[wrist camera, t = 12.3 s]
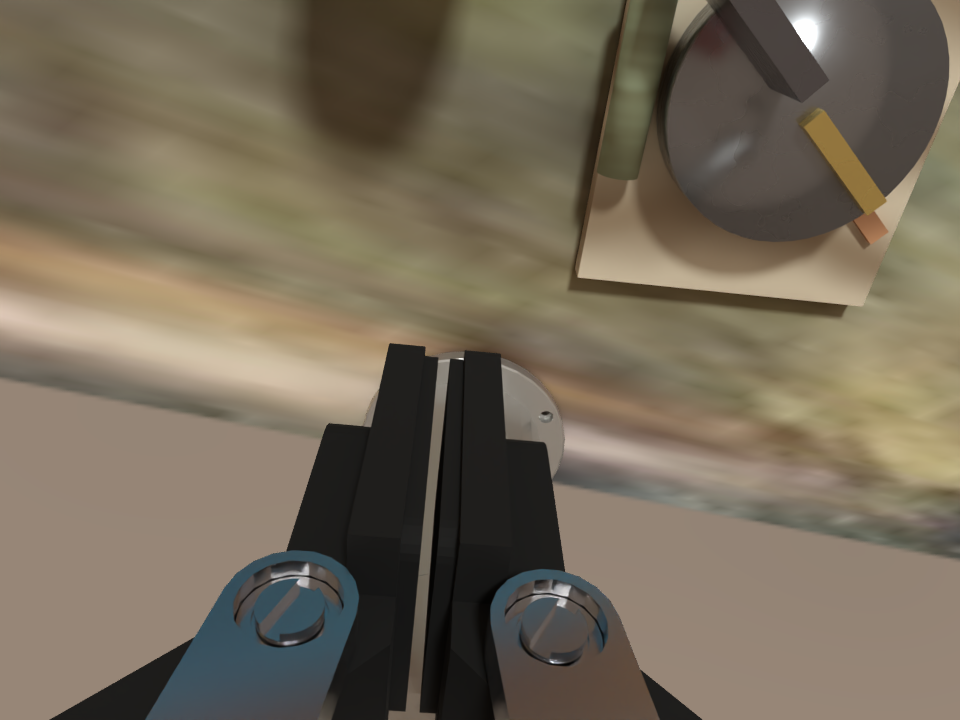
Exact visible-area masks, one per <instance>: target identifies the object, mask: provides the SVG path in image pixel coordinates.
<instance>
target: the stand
mask: <svg viewBox="0 0 960 720" xmlns="http://www.w3.org/2000/svg"><path fill="white" fill-rule="evenodd" d="M931 1H932V3H933V4H934V6H935V8H936V10H937V12H938V14H939V16H940V18H941V20H942V23H943V27H944V30H945V34H946V37H947V42H948V50H949V81H948V88H947V95H946V99H945V103H944V106H943V110H942V114H941V116H940V119H939V121H938V124H937V127H936V129H935V132H934V134H933V136H932V138H931V139H930V141H929V143H928V145H927V147H926V149H925V151H924V152H923V154H922V155H921V157H920V158H919V160H918V161H917V163H916V164H915V166H914V167H913V168H912V169H911V171H910V172H909V173H908V174H907V176H906V177H905V178H904V179H903V180H902V182H901V183H900V184H899V185H898V186H897V187H896V188H895V189H894V190H893V191H892V192H891V193H890V194H889V195H888V196H887V197H885V199H886V200H887V202H886V203H884V204H883V205H882V206H880V207H879V208H878V209H876V210H875V211H874V212H872V213H871V214H870V215H868V216H867V215H865V214H863V215H861V216H860V217H858V218H857V219H855V220H853V221H851V222H849V223H847V224H845V225H844V226H842V227H839V228H837V229H835V230H832V231H830V232H827V233H825V234H821V235H818V236H814V237H811V238H807V239H801V240H795V241H785V242H768V241H758V240H753V239H748V238H744V237H741V236H738V235H735V234H732V233H730V232H728V231H726V230H724V229H722V228H720V227H718V226H717V225H715V224H714V223H712V222H711V221H710V220H708V219H707V218H706V217H704V216H703V215H702V214H701V213H700V212H699V211H698V209H697V208H696V207H695V206H694V205H693V204H692V203H691V202H690V201H689V200H688V198H687V197H686V196H685V195H684V194H683V193H682V191H681V190H680V189H679V188H678V186H677V185H676V183H675V182H674V181H673V179H672V177H671V175H670V173H669V172H668V170H667V168H666V166H665V163H664V160H663V157H662V154H661V151H660V146H659V141H658V136H657V120H656V117H657V103H658V97H659V92H660V86H661V82H662V79H663V76H664V73H665V70H666V67H667V64H668V62H669V60H670V57H671V55H672V53H673V51H674V49H675V47H676V45H677V43H678V42H679V40H680V38H681V37H682V35H683V33H684V32H685V30H686V29H687V27H688V26H689V25H690V23H691V22H692V21H693V19H694V18H695V17H696V16H697V14H698V13H699V12H700V11H701V10H702V9H703V8H704V7H705V6H706V5H707V4H708V2H707V1H706V0H627V2H626V7H625V12H624V18H623V23H622V28H621V33H620V38H619V43H618V49H617V54H616V59H615V64H614V69H613V74H612V80H611V85H610V90H609V95H608V100H607V105H606V111H605V116H604V121H603V126H602V131H601V136H600V142H599V147H598V152H597V157H596V162H595V167H594V173H593V178H592V183H591V188H590V193H589V198H588V204H587V209H586V214H585V219H584V224H583V229H582V235H581V240H580V245H579V250H578V255H577V260H576V266H575V271H576V274H577V277H578V278H588V279H598V280H608V281H617V282H627V283H637V284H647V285H657V286H667V287H677V288H686V289H696V290H706V291H716V292H726V293H736V294H745V295H755V296H765V297H775V298H785V299H795V300H805V301H814V302H824V303H834V304H844V305H854V306H863V304H864V302H865V299H866V297H867V295H868V292H869V290H870V288H871V285H872V283H873V281H874V278H875V276H876V274H877V271H878V269H879V267H880V264H881V262H882V260H883V257H884V255H885V253H886V250H887V248H888V246H889V244H890V241H891V239H892V237H893V234H894V232H895V230H896V227H897V225H898V223H899V220H900V218H901V216H902V213H903V211H904V209H905V206H906V204H907V202H908V199H909V197H910V195H911V192H912V190H913V188H914V185H915V183H916V181H917V178H918V176H919V174H920V171H921V169H922V167H923V164H924V162H925V160H926V157H927V155H928V153H929V150H930V148H931V146H932V144H933V141H934V139H935V137H936V134H937V132H938V130H939V127H940V125H941V123H942V120H943V118H944V116H945V113H946V111H947V109H948V106H949V104H950V102H951V99H952V97H953V95H954V92H955V90H956V88H957V85H958V83H959V81H960V0H931Z"/></svg>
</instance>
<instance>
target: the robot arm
mask: <svg viewBox="0 0 960 720" xmlns="http://www.w3.org/2000/svg"><path fill="white" fill-rule="evenodd" d="M564 441H565V437H564V430H563V423H562V419H561V415H560V411H559V408H558V406H557V404H556V402H555V400H554V398H553V397H552V395H551V393H550V392H549V391H548V390H547V388H546V387H545V386H544V385H543V384H542V382H541V381H540V380H539V379H537V378H536V377H535V376H534V375H532V374H531V373H530V372H528V371H527V370H526V369H524V368H522V367H520V366H519V365H517V364H515V363H513V362H511V361H509V360H506V359H503V358H501V354H498V353H487V352H477V351H466V350H465V352H447V353H442V354H437V355H432V356H425V347H424V346H413V345H403V344H392V343H390V344H389V348H388V352H387V357H386V361H385V366H384V370H383V375H382V379H381V384H380V388H379V390H378V391H377V393H376V394H375V396H374V397H373V398H372V401H371V403H370V405H369V408H368V410H367V413H366V417H365V421H364V426H353V425H342V424H330V423H329V424H328V425H327V426H326V429H325V431H324V434H323V437H322V440H321V444H320V447H319V450H318V453H317V456H316V459H315V463H314V466H313V469H312V472H311V475H310V478H309V482H308V485H307V488H306V491H305V494H304V497H303V500H302V503H301V507H300V510H299V513H298V516H297V519H296V522H295V525H294V529H293V532H292V535H291V538H290V541H289V544H288V548H287V551H286V552H279V553H273V554H270V555H268V556H265V557H263V558H260V559H258V560H255V561H253V562H252V563H250V564H249V565H247V566H246V567H245V568H243V569H242V570H240V571H239V572H237V573H236V574H235V576H234V577H233V578H232V579H231V581H230V582H229V583H228V584H227V585H226V586H225V588H224V589H223V591H222V593H221V594H220V596H219V597H218V599H217V601H216V603H215V604H214V606H213V608H212V609H211V611H210V613H209V614H208V616H207V618H206V619H205V621H204V623H203V624H202V626H201V628H200V629H199V631H198V633H197V634H196V636H195V637H194V638H192V639H191V640H189V641H187V642H185V643H184V644H182V645H180V646H178V647H177V648H175V649H173V650H171V651H170V652H168V653H166V654H164V655H162V656H161V657H159V658H157V659H155V660H154V661H152V662H150V663H148V664H147V665H145V666H143V667H141V668H140V669H138V670H136V671H135V672H133V673H131V674H129V675H127V676H126V677H124V678H122V679H120V680H119V681H117V682H115V683H113V684H112V685H110V686H108V687H106V688H105V689H103V690H101V691H99V692H98V693H96V694H94V695H92V696H90V697H89V698H87V699H85V700H84V701H82V702H80V703H79V704H77V705H75V706H73V707H71V708H69V709H68V710H66V711H64V712H63V713H61V714H59V715H57V716H55V717H54V718H52V719H50V720H702V719H701V718H700V717H698V716H697V715H696V714H695V713H694V712H692V711H691V710H690V709H689V708H687V707H686V706H685V705H684V704H682V703H681V702H680V701H679V700H677V699H676V698H675V697H674V696H672V695H671V694H670V693H669V692H667V691H666V690H665V689H664V688H662V687H661V686H660V685H659V684H658V683H656V682H655V681H654V680H652V679H651V678H650V677H649V676H648V675H646V674H645V673H644V672H643V671H641V670H640V668H639V665H638V663H637V660H636V658H635V655H634V653H633V650H632V647H631V645H630V642H629V640H628V637H627V635H626V632H625V630H624V627H623V624H622V622H621V619H620V617H619V615H618V613H617V612H616V610H615V608H614V606H613V605H612V603H611V601H610V600H609V599H608V598H607V597H606V596H605V595H604V594H603V593H602V592H601V591H600V590H599V589H598V588H597V587H596V586H594V585H592V584H590V583H589V582H587V581H586V580H584V579H582V578H581V577H579V576H575V575H573V574H570V573H566V572H565V568H564V561H563V554H562V547H561V540H560V533H559V527H558V519H557V512H556V505H555V499H554V491H553V484H552V478H553V477H554V475H555V473H556V472H557V470H558V468H559V465H560V462H561V459H562V456H563V452H564Z"/></svg>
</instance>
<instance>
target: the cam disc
mask: <svg viewBox="0 0 960 720" xmlns="http://www.w3.org/2000/svg"><path fill="white" fill-rule="evenodd" d="M706 1H707V2H708V4H707V5H706V6H705V7H704V8H703V9H702V10H701V11H700V12H699V13H698V14H697V16H696V17H695V18H694V19H693V21H692V22H691V23H690V25H689V26H688V27H687V29H686V30H685V32H684V33H683V35H682V37H681V38H680V40H679V42H678V43H677V45H676V47H675V49H674V51H673V53H672V55H671V57H670V60H669V62H668V64H667V67H666V70H665V73H664V76H663V79H662V82H661V86H660V92H659V97H658V103H657V117H656V120H657V136H658V141H659V146H660V151H661V154H662V157H663V160H664V163H665V166H666V168H667V170H668V172H669V173H670V175H671V177H672V179H673V181H674V182H675V183H676V185H677V186H678V188H679V189H680V190H681V191H682V193H683V194H684V195H685V196H686V197H687V198H688V200H689V201H690V202H691V203H692V204H693V205H694V206H695V207H696V208H697V209H698V211H699V212H700V213H701V214H702V215H703V216H704V217H706V218H707V219H708V220H710V221H711V222H712V223H714V224H715V225H717V226H718V227H720V228H722V229H724V230H726V231H728V232H730V233H732V234H735V235H738V236H741V237H744V238H748V239H753V240H758V241H768V242H785V241H795V240H801V239H807V238H811V237H814V236H818V235H821V234H825V233H827V232H830V231H832V230H835V229H837V228H839V227H842V226H844V225H845V224H847V223H849V222H851V221H853V220H855V219H857V218H858V217H860V216H861V215H863V214H865V215H867V216H868V215H870V214H871V213H872V212H874V211H875V210H876V209H878V208H879V207H880V206H882V205H883V204H884V203H886V202H887V200H886V199H885V197H887V196H888V195H889V194H890V193H891V192H892V191H893V190H894V189H895V188H896V187H897V186H898V185H899V184H900V183H901V182H902V180H903V179H904V178H905V177H906V176H907V174H908V173H909V172H910V171H911V169H912V168H913V167H914V166H915V164H916V163H917V161H918V160H919V158H920V157H921V155H922V154H923V152H924V151H925V149H926V147H927V145H928V143H929V141H930V139H931V138H932V136H933V134H934V132H935V129H936V127H937V124H938V121H939V119H940V116H941V114H942V110H943V106H944V103H945V99H946V95H947V88H948V81H949V50H948V42H947V37H946V34H945V30H944V27H943V23H942V20H941V18H940V16H939V14H938V12H937V10H936V8H935V6H934V4H933V3H932V1H931V0H706Z"/></svg>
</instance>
